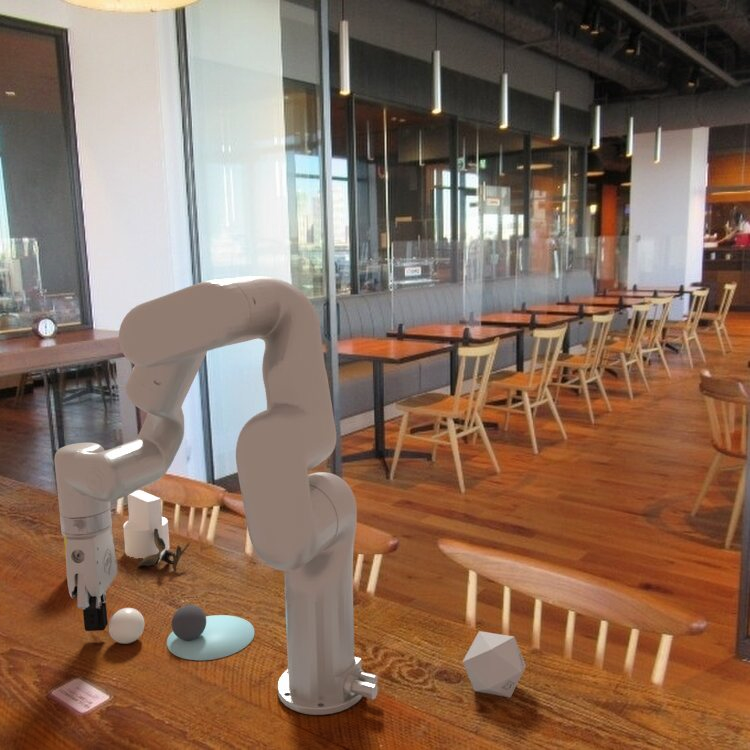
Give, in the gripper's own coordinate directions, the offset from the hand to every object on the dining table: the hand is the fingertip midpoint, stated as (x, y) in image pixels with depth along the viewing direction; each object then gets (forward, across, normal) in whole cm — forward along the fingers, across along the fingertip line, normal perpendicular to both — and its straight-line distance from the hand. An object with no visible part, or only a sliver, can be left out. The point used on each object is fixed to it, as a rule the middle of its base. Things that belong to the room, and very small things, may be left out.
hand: (96, 628), depth 120 cm
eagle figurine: (+2, +28, -4) cm, 28 cm away
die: (+3, -18, -62) cm, 64 cm away
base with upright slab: (+2, +37, +1) cm, 37 cm away
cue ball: (-1, -1, -5) cm, 5 cm away
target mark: (+2, -1, -19) cm, 19 cm away
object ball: (-1, -1, -15) cm, 15 cm away
